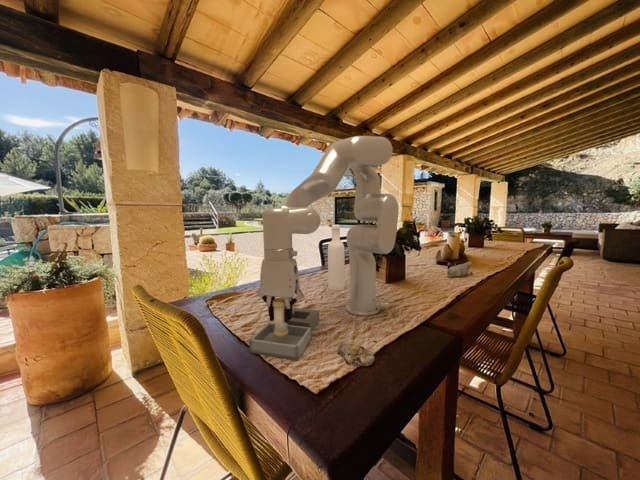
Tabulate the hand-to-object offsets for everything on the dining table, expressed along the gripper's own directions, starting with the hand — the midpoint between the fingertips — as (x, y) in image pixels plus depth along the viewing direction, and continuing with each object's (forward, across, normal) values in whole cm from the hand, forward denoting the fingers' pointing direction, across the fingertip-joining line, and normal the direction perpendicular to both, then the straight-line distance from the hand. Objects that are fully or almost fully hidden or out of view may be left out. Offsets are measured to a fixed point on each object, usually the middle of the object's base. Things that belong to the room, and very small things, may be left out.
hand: (280, 319), depth 71 cm
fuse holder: (+8, -1, -13) cm, 15 cm away
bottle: (+8, -4, -53) cm, 54 cm away
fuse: (+4, 0, 0) cm, 4 cm away
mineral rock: (+8, -21, 0) cm, 22 cm away
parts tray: (+8, 0, 0) cm, 8 cm away
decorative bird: (+7, -63, -88) cm, 109 cm away
